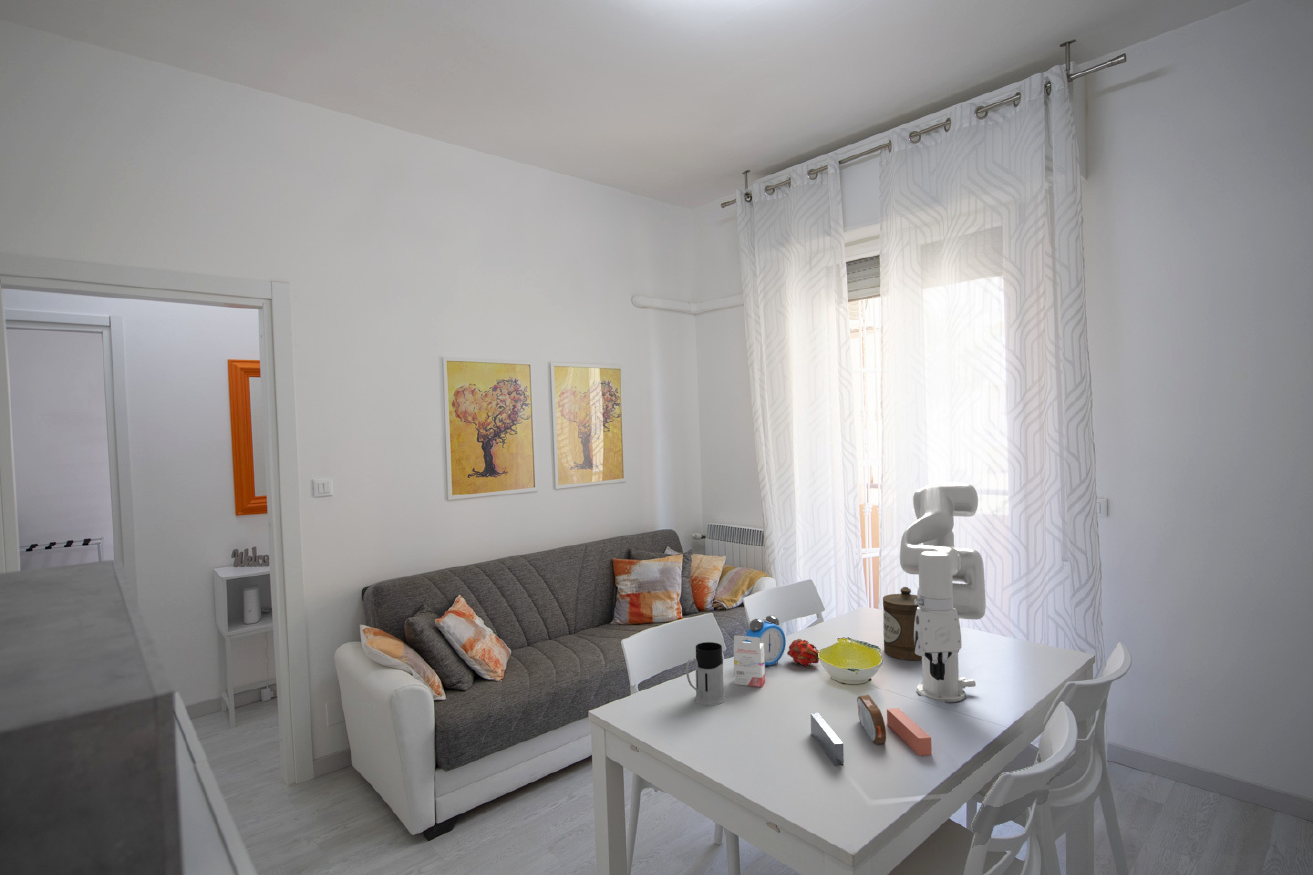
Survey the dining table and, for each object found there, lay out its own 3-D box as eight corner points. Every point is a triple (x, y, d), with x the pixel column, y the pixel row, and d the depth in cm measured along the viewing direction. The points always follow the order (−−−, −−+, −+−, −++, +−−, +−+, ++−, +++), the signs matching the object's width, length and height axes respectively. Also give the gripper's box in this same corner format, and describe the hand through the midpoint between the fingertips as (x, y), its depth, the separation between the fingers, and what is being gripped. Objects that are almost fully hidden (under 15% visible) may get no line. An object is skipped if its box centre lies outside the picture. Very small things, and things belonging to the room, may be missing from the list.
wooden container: (879, 644, 227) (878, 582, 227) (924, 645, 225) (923, 582, 225) (889, 660, 213) (887, 592, 212) (936, 661, 210) (935, 593, 210)
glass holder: (731, 697, 186) (730, 645, 186) (700, 714, 176) (698, 659, 176) (707, 689, 192) (706, 639, 192) (675, 705, 182) (674, 652, 182)
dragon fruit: (789, 663, 217) (819, 678, 208) (777, 653, 211) (807, 668, 202) (800, 639, 219) (830, 653, 210) (789, 630, 214) (819, 643, 205)
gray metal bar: (818, 732, 164) (818, 712, 164) (843, 765, 148) (843, 743, 148) (811, 733, 164) (810, 713, 164) (835, 765, 148) (834, 743, 148)
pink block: (898, 723, 166) (898, 707, 166) (931, 754, 150) (931, 737, 150) (887, 724, 166) (886, 708, 166) (919, 755, 150) (918, 738, 150)
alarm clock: (756, 670, 207) (755, 623, 206) (743, 664, 212) (742, 618, 212) (786, 661, 213) (785, 616, 213) (774, 656, 219) (772, 611, 218)
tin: (887, 750, 154) (887, 714, 154) (874, 750, 154) (873, 715, 154) (868, 721, 169) (867, 689, 169) (855, 721, 169) (855, 689, 169)
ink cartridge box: (765, 681, 197) (764, 633, 197) (762, 687, 193) (760, 638, 193) (738, 678, 201) (737, 630, 200) (733, 684, 196) (732, 635, 196)
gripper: (914, 608, 154) (915, 686, 154) (974, 605, 155) (975, 682, 156) (899, 600, 161) (900, 674, 162) (956, 597, 163) (958, 670, 163)
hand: (937, 677), depth 159 cm, fingers closed
